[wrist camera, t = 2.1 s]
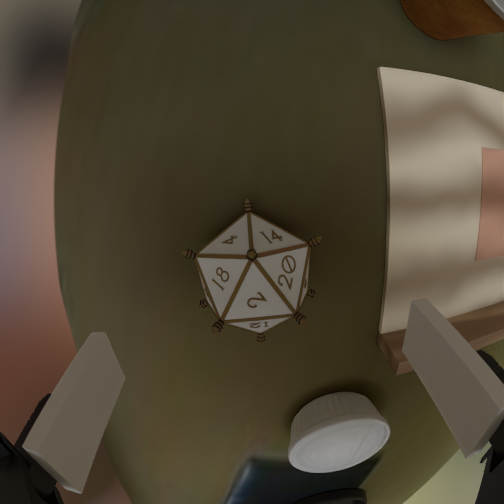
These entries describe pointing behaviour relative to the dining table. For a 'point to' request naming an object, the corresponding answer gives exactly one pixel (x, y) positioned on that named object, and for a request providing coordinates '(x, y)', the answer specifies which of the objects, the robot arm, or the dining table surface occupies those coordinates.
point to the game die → (254, 274)
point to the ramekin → (336, 433)
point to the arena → (442, 206)
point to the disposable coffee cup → (455, 17)
